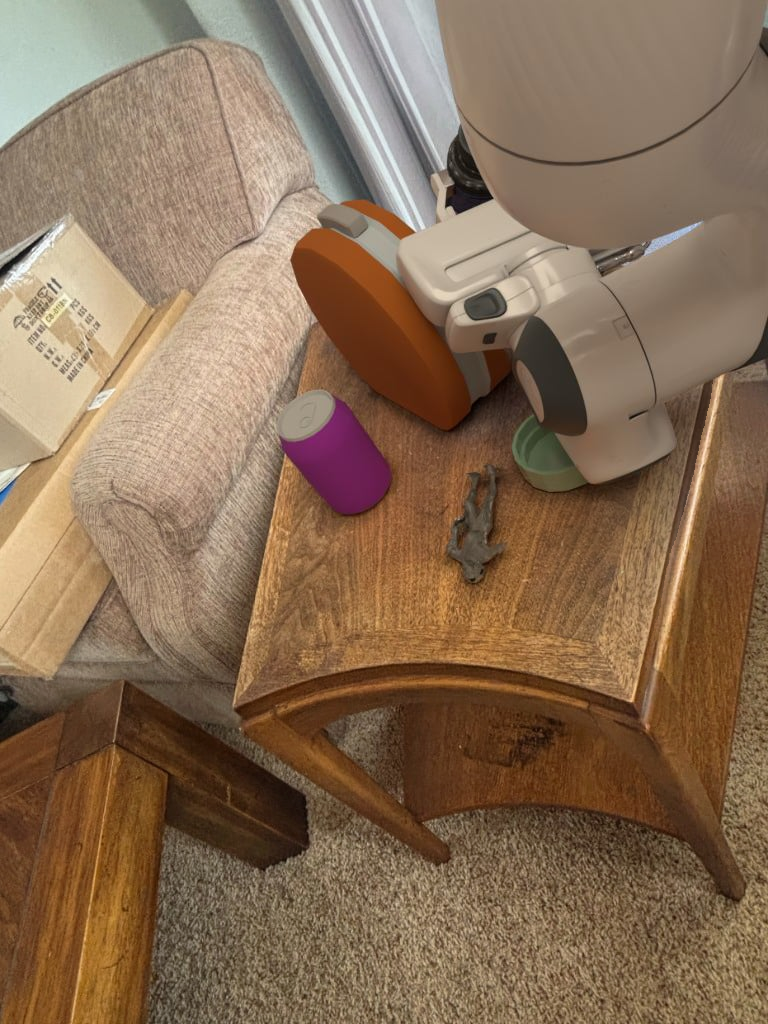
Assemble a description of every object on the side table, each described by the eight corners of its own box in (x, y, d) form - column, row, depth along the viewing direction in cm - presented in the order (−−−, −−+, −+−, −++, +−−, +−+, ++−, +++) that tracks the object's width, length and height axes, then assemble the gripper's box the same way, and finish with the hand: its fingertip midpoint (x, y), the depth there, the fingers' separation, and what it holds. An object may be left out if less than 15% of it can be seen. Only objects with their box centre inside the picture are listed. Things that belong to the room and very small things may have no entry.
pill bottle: (519, 221, 69) (540, 147, 58) (462, 250, 68) (472, 182, 57) (488, 168, 69) (503, 85, 58) (431, 196, 69) (435, 118, 58)
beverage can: (394, 508, 74) (337, 430, 65) (328, 526, 76) (265, 454, 68) (395, 452, 78) (342, 373, 70) (333, 472, 81) (274, 398, 73)
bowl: (598, 410, 69) (590, 388, 67) (624, 473, 64) (617, 451, 62) (514, 443, 72) (504, 423, 69) (532, 507, 66) (522, 487, 64)
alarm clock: (537, 380, 75) (456, 185, 59) (471, 446, 74) (369, 264, 58) (411, 325, 91) (320, 159, 75) (354, 379, 89) (249, 221, 74)
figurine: (505, 449, 66) (479, 554, 59) (529, 475, 68) (507, 581, 61) (453, 469, 71) (423, 570, 63) (477, 493, 72) (450, 594, 65)
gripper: (675, 228, 58) (597, 84, 60) (438, 332, 57) (367, 183, 59) (649, 266, 64) (579, 134, 66) (435, 360, 63) (371, 224, 65)
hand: (477, 158), depth 62 cm, fingers closed on pill bottle, 6 cm apart
